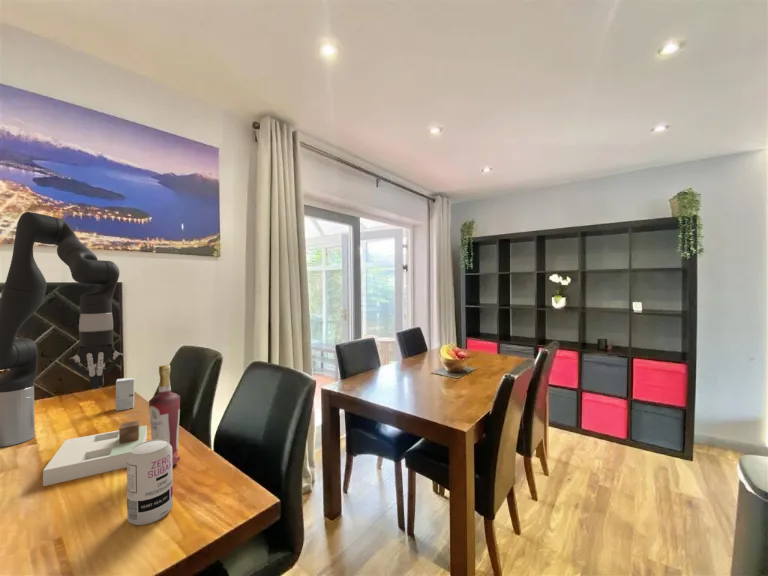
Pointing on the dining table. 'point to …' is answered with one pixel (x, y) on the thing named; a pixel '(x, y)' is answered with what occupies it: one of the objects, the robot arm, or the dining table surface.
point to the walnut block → (129, 432)
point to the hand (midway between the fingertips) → (96, 388)
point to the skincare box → (125, 393)
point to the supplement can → (149, 481)
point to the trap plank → (89, 456)
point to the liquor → (165, 413)
